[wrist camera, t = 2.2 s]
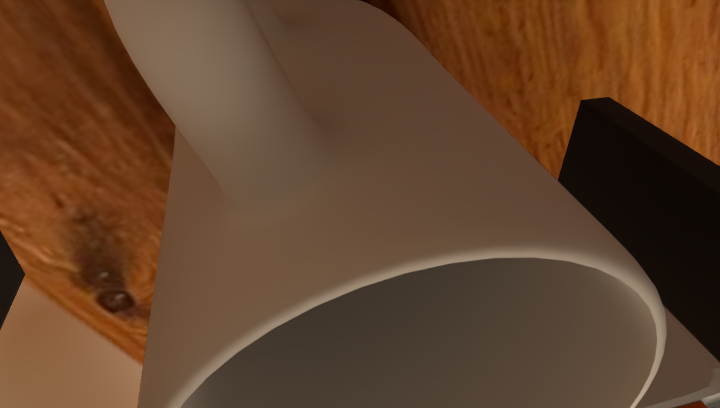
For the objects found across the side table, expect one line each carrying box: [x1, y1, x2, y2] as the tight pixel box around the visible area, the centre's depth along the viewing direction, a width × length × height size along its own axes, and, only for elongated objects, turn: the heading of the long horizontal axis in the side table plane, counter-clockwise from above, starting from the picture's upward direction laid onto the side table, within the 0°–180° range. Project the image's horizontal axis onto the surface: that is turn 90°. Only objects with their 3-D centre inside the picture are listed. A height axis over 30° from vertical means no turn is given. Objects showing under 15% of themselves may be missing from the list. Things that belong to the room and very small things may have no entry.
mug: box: [104, 0, 667, 408], centre depth 11 cm, size 12×8×11 cm
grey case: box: [635, 306, 720, 408], centre depth 22 cm, size 14×3×8 cm, turn 94°
